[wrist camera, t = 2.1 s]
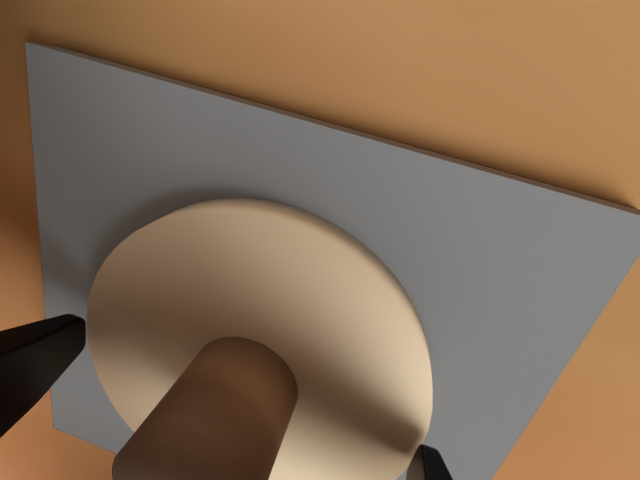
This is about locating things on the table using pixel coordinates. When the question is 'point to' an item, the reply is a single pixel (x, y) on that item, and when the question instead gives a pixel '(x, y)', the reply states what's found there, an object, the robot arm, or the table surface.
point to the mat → (340, 209)
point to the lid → (258, 349)
